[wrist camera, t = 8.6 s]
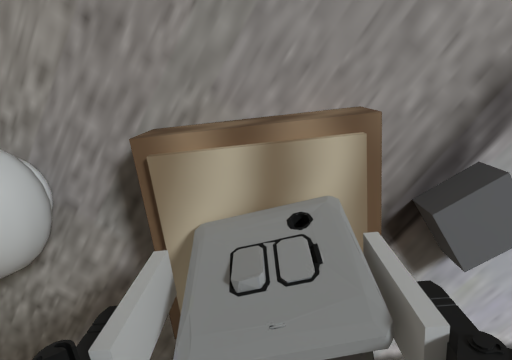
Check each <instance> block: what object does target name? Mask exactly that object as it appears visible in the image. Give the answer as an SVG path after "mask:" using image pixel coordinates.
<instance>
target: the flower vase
mask: <svg viewBox="0 0 512 360" xmlns="http://www.w3.org/2000/svg"><path fill="white" fill-rule="evenodd" d="M52 210H53V197H52V191H51V189H50V187H49V185H48V182H47V181H46V179H45V178H44V177H43V175H42V174H41V173H40V172H39V171H38V170H37V169H36V168H35V167H33V166H32V165H31V164H29V163H28V162H26V161H24V160H22V159H20V158H17V157H15V156H13V155H11V154H9V153H8V152H6V151H4V150H2V149H0V279H1V278H4V277H6V276H9V275H11V274H13V273H15V272H17V271H19V270H20V269H22V268H24V267H26V266H28V265H29V264H30V263H31V262H32V261H33V260H34V259H35V258H36V257H37V256H38V255H39V254H40V253H41V252H42V251H43V249H44V247H45V245H46V243H47V240H48V238H49V236H50V233H51V224H52Z"/></svg>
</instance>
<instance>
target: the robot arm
mask: <svg viewBox="0 0 512 360" xmlns="http://www.w3.org/2000/svg"><path fill="white" fill-rule="evenodd" d="M363 254H364V257H365V259H366V261H367V263H368V266H369V268H370V270H371V272H372V275H373V277H374V279H375V281H376V284H377V286H378V288H379V290H380V293H381V295H382V297H383V299H384V302H385V304H386V306H387V308H388V311H389V313H390V315H391V317H392V320H393V326H394V332H395V334H394V339H395V341H396V343H397V345H398V347H399V349H400V351H401V353H402V355H403V357H404V359H405V360H512V349H509V348H506V346H505V345H504V344H503V343H502V342H501V341H500V340H499V339H497V338H495V337H494V336H492V335H490V334H487V333H485V332H482V331H479V330H478V329H477V328H476V327H475V326H474V324H473V323H472V322H471V321H470V320H469V319H468V317H467V316H466V315H465V314H464V313H463V312H462V311H461V309H460V308H459V307H458V306H456V304H455V303H454V301H453V300H452V299H451V298H449V296H448V294H447V293H446V292H445V291H444V290H443V289H442V288H441V287H440V286H438V285H436V284H435V283H433V282H432V281H418V282H416V281H415V279H414V278H413V277H412V275H411V274H410V273H409V272H408V270H407V269H406V268H405V266H404V265H403V264H402V262H401V261H400V260H399V258H398V257H397V256H396V255H395V253H394V252H393V251H392V249H391V248H390V247H389V245H388V244H387V243H386V242H385V240H384V239H383V238H382V236H381V235H380V234H379V232H369V233H363ZM176 295H177V291H176V287H175V282H174V278H173V273H172V268H171V264H170V259H169V254H168V250H164V251H154V252H153V253H152V255H151V256H150V258H149V259H148V261H147V262H146V264H145V265H144V267H143V268H142V270H141V271H140V273H139V275H138V276H137V278H136V279H135V281H134V282H133V284H132V285H131V287H130V288H129V290H128V291H127V293H126V294H125V296H124V297H123V299H122V300H121V302H120V303H119V305H118V306H110V307H108V308H107V309H106V310H105V311H103V312H102V313H101V314H100V315H99V316H98V317H97V319H96V320H95V321H94V323H93V325H92V326H91V327H90V328H89V330H88V331H87V334H85V335H84V337H83V338H82V340H81V341H80V342H79V344H78V345H77V347H76V346H75V343H74V342H73V341H71V340H61V341H58V342H55V343H53V344H51V345H49V346H47V347H45V348H44V349H43V350H41V351H40V352H39V353H38V354H37V355H36V356H35V357H34V358H33V360H150V357H151V355H152V352H153V350H154V348H155V345H156V343H157V340H158V338H159V336H160V333H161V331H162V328H163V326H164V323H165V321H166V319H167V316H168V314H169V311H170V309H171V307H172V304H173V302H174V299H175V297H176Z"/></svg>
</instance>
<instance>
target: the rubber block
mask: <svg viewBox="0 0 512 360" xmlns="http://www.w3.org/2000/svg"><path fill="white" fill-rule="evenodd" d="M412 200H413V202H414V203H415V205H416V207H417V208H418V210H419V212H420V214H421V215H422V217H423V219H424V221H425V222H426V224H427V226H428V227H429V229H430V231H431V233H432V234H433V236H434V238H435V240H436V241H437V243H438V245H439V246H440V248H441V250H442V251H443V252H444V253H445V254H446V255H447V256H448V257H449V258H450V259H451V260H452V261H453V262H454V263H455V264H456V265H457V266H459V267H460V268H461V269H462V270H463V271H464V272H466V271H468V270H470V269H472V268H474V267H476V266H478V265H480V264H482V263H484V262H486V261H488V260H490V259H492V258H494V257H496V256H498V255H500V254H502V253H504V252H506V251H508V250H509V249H511V248H512V178H511V176H510V174H509V173H508V172H506V171H503V170H500V169H497V168H495V167H492V166H489V165H487V164H484V163H481V162H477V163H476V164H474V165H472V166H470V167H469V168H467V169H465V170H463V171H462V172H460V173H458V174H456V175H455V176H453V177H451V178H449V179H448V180H446V181H444V182H442V183H441V184H439V185H437V186H435V187H434V188H432V189H430V190H428V191H427V192H425V193H423V194H421V195H419V196H418V197H416V198H414V199H412Z"/></svg>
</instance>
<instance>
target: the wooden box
mask: <svg viewBox="0 0 512 360" xmlns="http://www.w3.org/2000/svg"><path fill="white" fill-rule="evenodd" d="M129 140H130V145H131V149H132V154H133V158H134V162H135V167H136V171H137V175H138V180H139V184H140V188H141V193H142V197H143V202H144V206H145V210H146V215H147V219H148V223H149V228H150V232H151V236H152V241H153V245H154V250H155V251H164V250H168V254H169V259H170V264H171V268H172V273H173V278H174V282H175V287H176V291H177V295H176V297H175V299H174V302H173V304H172V307H171V309H170V311H169V315H170V319H171V324H172V328H173V332H174V337H175V339H177V334H178V328H179V322H180V316H181V311H182V305H183V299H184V293H185V287H186V281H187V275H188V269H189V263H190V258H191V252H192V246H193V239H194V233H195V230H196V229H197V228H198V227H199V226H200V225H201V224H204V223H207V222H212V221H216V220H220V219H225V218H229V217H234V216H238V215H243V214H247V213H252V212H256V211H261V210H265V209H269V208H274V207H278V206H283V205H287V204H292V203H296V202H301V201H305V200H309V199H314V198H318V197H323V196H333V197H335V198H338V199H339V201H340V203H341V205H342V207H343V210H344V212H345V214H346V216H347V219H348V221H349V223H350V225H351V228H352V230H353V232H354V234H355V237H356V239H357V241H358V243H359V246H360V248H361V250H362V252H363V233H369V232H379V234H380V235H381V166H382V112H381V111H377V110H372V109H368V108H364V107H351V108H342V109H333V110H324V111H315V112H306V113H297V114H288V115H279V116H270V117H261V118H251V119H242V120H233V121H224V122H215V123H206V124H197V125H188V126H179V127H170V128H161V129H153V130H150V131H148V132H145V133H143V134H141V135H138V136H136V137H133V138H131V139H129Z"/></svg>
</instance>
